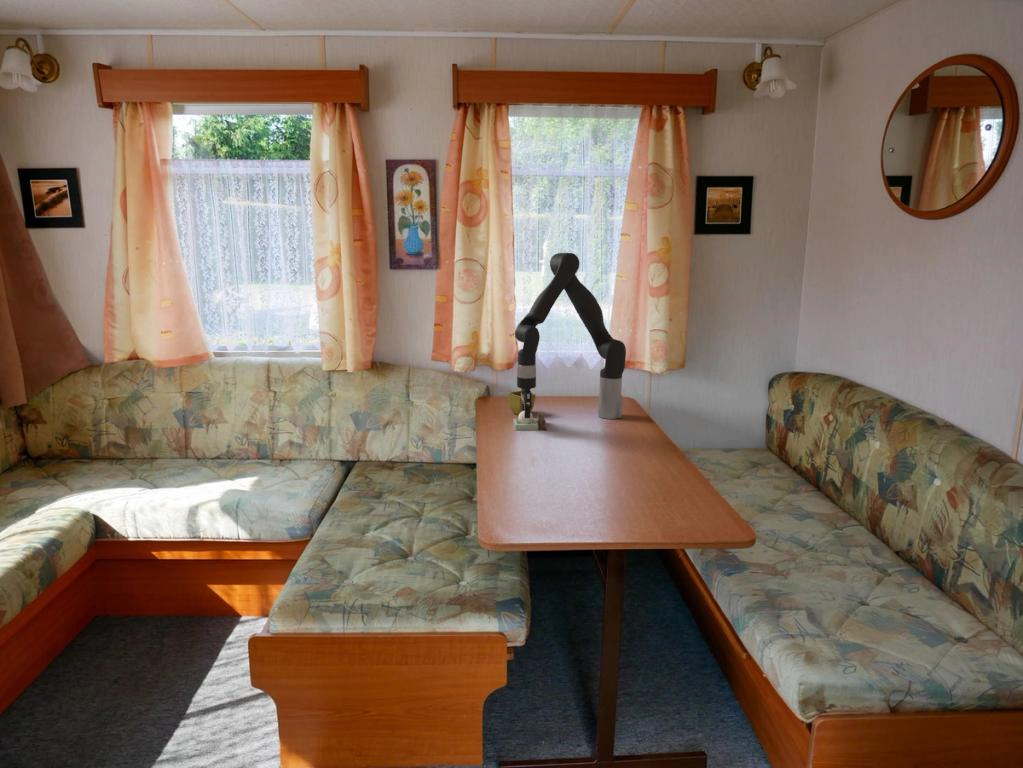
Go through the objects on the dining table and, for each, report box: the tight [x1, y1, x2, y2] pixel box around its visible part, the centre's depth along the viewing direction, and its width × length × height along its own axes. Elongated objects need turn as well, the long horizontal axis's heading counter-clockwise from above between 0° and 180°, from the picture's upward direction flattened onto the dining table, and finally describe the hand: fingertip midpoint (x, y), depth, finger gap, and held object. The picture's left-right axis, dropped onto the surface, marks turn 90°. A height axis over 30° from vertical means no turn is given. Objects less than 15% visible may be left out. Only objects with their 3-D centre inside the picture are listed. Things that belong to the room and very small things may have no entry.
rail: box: [536, 412, 548, 432], centre depth 273 cm, size 3×12×4 cm, turn 5°
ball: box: [517, 411, 534, 424], centre depth 272 cm, size 6×6×6 cm
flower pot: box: [507, 390, 536, 416], centre depth 291 cm, size 9×9×9 cm
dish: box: [512, 418, 539, 431], centre depth 272 cm, size 9×9×2 cm
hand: (526, 415), depth 271 cm, fingers open, 8 cm apart
